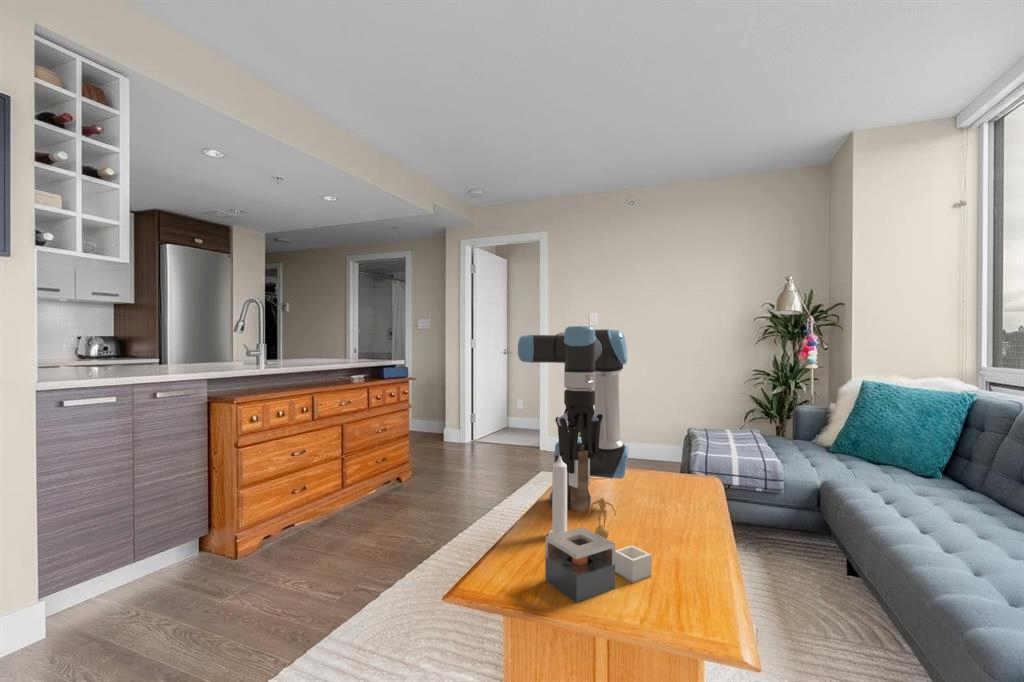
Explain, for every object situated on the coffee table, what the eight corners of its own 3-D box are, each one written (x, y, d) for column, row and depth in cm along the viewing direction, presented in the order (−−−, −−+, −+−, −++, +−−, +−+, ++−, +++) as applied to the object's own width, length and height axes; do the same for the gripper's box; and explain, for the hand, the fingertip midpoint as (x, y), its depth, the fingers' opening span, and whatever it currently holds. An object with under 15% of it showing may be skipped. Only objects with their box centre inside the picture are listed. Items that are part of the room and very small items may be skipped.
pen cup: (613, 572, 124) (613, 550, 124) (632, 565, 127) (632, 545, 127) (632, 583, 118) (632, 560, 118) (651, 576, 122) (651, 554, 122)
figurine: (587, 540, 143) (587, 500, 143) (589, 532, 149) (589, 494, 149) (615, 543, 141) (615, 502, 141) (616, 535, 147) (616, 496, 147)
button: (568, 571, 118) (568, 546, 118) (580, 567, 120) (580, 543, 120) (578, 578, 114) (578, 552, 114) (591, 573, 116) (591, 549, 116)
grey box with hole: (545, 580, 119) (545, 536, 119) (582, 568, 125) (582, 526, 125) (576, 603, 109) (576, 554, 109) (615, 588, 115) (615, 543, 115)
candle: (543, 536, 146) (543, 454, 146) (557, 529, 152) (557, 450, 152) (561, 542, 142) (562, 458, 142) (575, 535, 147) (576, 454, 147)
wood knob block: (570, 508, 118) (570, 443, 118) (580, 506, 119) (580, 442, 119) (578, 512, 115) (578, 445, 115) (588, 510, 117) (588, 444, 117)
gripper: (563, 392, 110) (562, 494, 110) (614, 388, 118) (614, 483, 118) (544, 389, 116) (543, 486, 116) (594, 386, 125) (593, 476, 125)
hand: (579, 484), depth 117 cm, fingers closed on wood knob block, 3 cm apart
